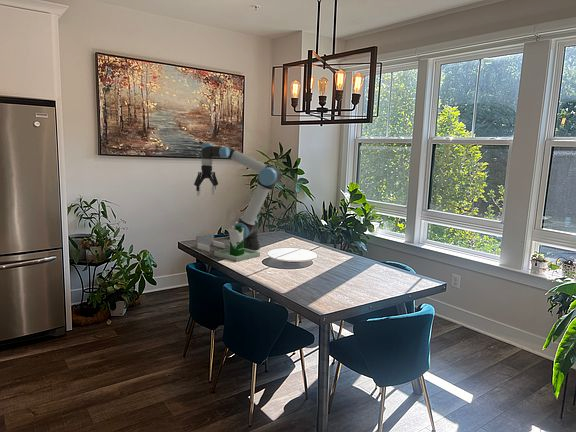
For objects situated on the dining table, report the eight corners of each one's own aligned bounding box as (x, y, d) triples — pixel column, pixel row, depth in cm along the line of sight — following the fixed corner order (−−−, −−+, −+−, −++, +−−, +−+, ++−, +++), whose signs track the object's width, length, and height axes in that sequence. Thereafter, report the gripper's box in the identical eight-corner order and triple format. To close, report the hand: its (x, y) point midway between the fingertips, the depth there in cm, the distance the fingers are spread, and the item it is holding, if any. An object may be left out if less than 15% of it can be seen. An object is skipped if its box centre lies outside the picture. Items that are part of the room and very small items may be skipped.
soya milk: (237, 256, 281) (236, 227, 276) (227, 254, 286) (226, 226, 282) (246, 253, 287) (245, 225, 283) (236, 251, 293) (235, 223, 288)
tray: (259, 256, 288) (260, 252, 288) (236, 262, 271) (236, 257, 271) (237, 250, 302) (237, 246, 302) (214, 255, 285) (214, 251, 285)
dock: (225, 248, 309) (225, 236, 307) (208, 251, 297) (208, 238, 295) (212, 244, 317) (212, 233, 316) (196, 248, 305) (196, 235, 304)
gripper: (216, 164, 307) (215, 193, 310) (189, 164, 288) (188, 195, 291) (223, 165, 302) (222, 194, 306) (196, 165, 283) (195, 196, 286)
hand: (206, 195), depth 298 cm, fingers open, 13 cm apart
